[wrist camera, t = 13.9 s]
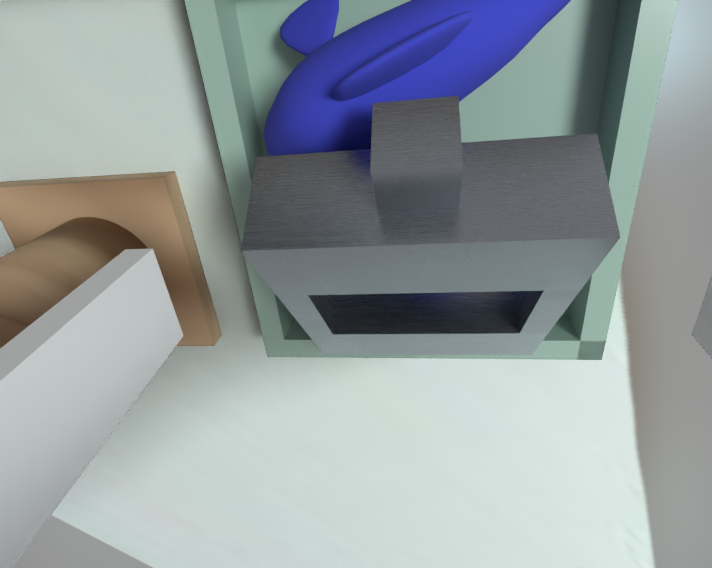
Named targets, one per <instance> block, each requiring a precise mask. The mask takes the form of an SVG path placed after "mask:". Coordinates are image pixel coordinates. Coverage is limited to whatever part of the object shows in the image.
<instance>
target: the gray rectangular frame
mask: <svg viewBox="0 0 712 568" xmlns="http://www.w3.org/2000/svg"><path fill="white" fill-rule="evenodd" d="M619 239H620V233H619V228H618V224H617V219H616V215H615V210H614V206H613V201H612V197H611V192H610V188H609V183H608V179H607V174H606V170H605V165H604V161H603V156H602V152H601V147H600V143H599V138H598V134H597V133H594V134H580V135H565V136H551V137H536V138H522V139H508V140H493V141H479V142H465V143H462V142H461V127H460V112H459V97H458V96H450V97H438V98H426V99H415V100H403V101H391V102H379V103H373V108H372V136H371V149H364V150H349V151H335V152H321V153H306V154H292V155H278V156H263V157H256V161H255V167H254V173H253V179H252V185H251V191H250V198H249V204H248V210H247V216H246V222H245V228H244V234H243V240H242V246H241V252H242V253H243V254H244V256H245V257H246V258H247V259H248V261H249V262H250V263H251V264H252V266H253V267H254V268H255V269H256V271H257V272H258V273H259V274H260V275H261V277H262V278H263V279H264V280H265V282H266V283H267V284H268V285H269V287H270V288H271V289H272V290H273V292H274V293H275V294H276V295H277V297H278V298H279V299H280V300H281V302H282V303H283V304H284V305H285V307H286V308H287V309H288V310H289V312H290V313H291V314H292V315H293V317H294V318H295V319H296V320H297V321H298V323H299V324H300V325H301V326H302V328H303V329H304V330H305V331H306V333H307V334H308V335H309V336H310V338H311V339H312V340H313V341H314V343H315V344H316V345H317V346H318V348H319V349H320V350H321V351H322V353H323V354H324V355H532V354H533V353H534V352H535V350H536V349H537V348H538V346H539V345H540V344H541V342H542V341H543V340H544V338H545V337H546V336H547V334H548V333H549V332H550V330H551V329H552V328H553V326H554V325H555V324H556V322H557V321H558V320H559V318H560V317H561V316H562V314H563V313H564V312H565V310H566V309H567V308H568V306H569V305H570V304H571V302H572V301H573V300H574V298H575V297H576V296H577V294H578V293H579V292H580V290H581V289H582V288H583V286H584V285H585V284H586V282H587V281H588V280H589V278H590V277H591V276H592V274H593V273H594V272H595V270H596V269H597V268H598V266H599V265H600V264H601V262H602V261H603V260H604V258H605V257H606V256H607V254H608V253H609V252H610V250H611V249H612V248H613V246H614V245H615V244H616V243H617V241H618V240H619Z"/></svg>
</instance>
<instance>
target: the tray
mask: <svg viewBox="0 0 712 568" xmlns="http://www.w3.org/2000/svg"><path fill="white" fill-rule="evenodd" d="M184 1H185V5H186V9H187V14H188V18H189V22H190V26H191V31H192V35H193V39H194V44H195V48H196V52H197V57H198V61H199V65H200V69H201V74H202V78H203V82H204V87H205V91H206V95H207V99H208V104H209V108H210V112H211V117H212V121H213V125H214V129H215V134H216V138H217V142H218V147H219V151H220V155H221V159H222V164H223V168H224V172H225V177H226V181H227V185H228V190H229V194H230V198H231V202H232V207H233V211H234V215H235V220H236V224H237V228H238V232H239V237H240V241H241V245H242V240H243V234H244V228H245V222H246V216H247V210H248V204H249V198H250V191H251V185H252V179H253V173H254V167H255V161H256V157H263V156H270V155H269V154H268V153H267V149H266V144H265V140H264V136H263V134H264V128H265V122H266V118H267V116H268V113H269V111H270V109H271V107H272V104H273V102H274V100H275V98H276V96H277V94H278V92H279V90H280V88H281V86H282V84H283V82H284V81H285V80H286V78H287V77H288V76H289V74H290V73H291V72H292V71H293V70H294V69H295V67H296V66H297V65H298V64H299V63H300V62H301V61H302V60H303V59H304V58H306V57H307V56H305V55H303V54H301V53H299V52H297V51H296V50H294V49H292V48H291V47H289V46H287V45H286V43H285V42H284V41H283V40H282V39H281V38H280V27H281V26H282V24H283V23H284V22H285V20H286V19H287V18H288V16H289V15H290V14H291V13H292V12H294V11H295V10H296V9H297V8H298V7H299V6H300V5H302V4H303V3H304V2H306V1H308V0H184ZM408 1H411V0H339V13H338V17H337V22H336V27H335V32H334V36H333V38H334V37H336V36H337V35H339V34H341V33H343V32H345V31H346V30H348V29H350V28H352V27H354V26H356V25H358V24H360V23H362V22H364V21H366V20H368V19H370V18H373V17H375V16H377V15H379V14H381V13H383V12H386V11H388V10H390V9H393V8H395V7H397V6H399V5H402V4H404V3H406V2H408ZM677 5H678V0H571V1H570V2H569V3H568V4H567V5H566V6H565V7H564V8H563V9H562V10H561V11H560V12H559V13H558V14H557V15H556V16H555V17H554V18H553V19H552V20H551V21H549V22H548V23H547V24H546V25H545V26H544V27H543V28H542V29H541V30H540V31H539V32H538V33H537V34H536V35H535V37H534V38H533V39H532V40H531V41H530V42H529V43H528V44H527V45H526V46H525V47H524V48H523V49H522V50H521V51H520V52H519V53H518V54H517V56H516V57H515V58H514V59H513V60H511V61H510V62H509V63H508V64H507V65H505V66H504V67H503V68H502V69H501V70H500V71H498V72H497V73H496V74H495V75H494V76H493V77H491V78H490V79H489V80H488V81H486V82H485V83H484V84H482V85H481V86H480V87H478V88H477V89H476V90H474V91H473V92H472V93H470V94H469V95H468V96H467V97H465V98H464V99H463V100H461V101H460V102H459V112H460V127H461V142H462V143H465V142H479V141H493V140H508V139H522V138H536V137H551V136H565V135H580V134H594V133H597V134H598V138H599V143H600V147H601V152H602V156H603V161H604V165H605V170H606V174H607V179H608V183H609V188H610V192H611V197H612V201H613V206H614V210H615V215H616V219H617V224H618V228H619V233H620V239H619V240H618V241H617V243H616V244H615V245H614V246H613V248H612V249H611V250H610V252H609V253H608V254H607V256H606V257H605V258H604V260H603V261H602V262H601V264H600V265H599V266H598V268H597V269H596V270H595V272H594V273H593V274H592V276H591V277H590V278H589V280H588V281H587V282H586V284H585V285H584V286H583V288H582V289H581V290H580V292H579V293H578V294H577V296H576V297H575V298H574V300H573V301H572V302H571V304H570V305H569V306H568V308H567V309H566V310H565V312H564V313H563V314H562V316H561V317H560V318H559V320H558V321H557V322H556V324H555V325H554V326H553V328H552V329H551V330H550V332H549V333H548V334H547V336H546V337H545V338H544V340H543V341H542V342H541V344H540V345H539V346H538V348H537V349H536V350H535V352H534V353H533V354H532V355H324V354H323V353H322V351H321V350H320V349H319V348H318V346H317V345H316V344H315V343H314V341H313V340H312V339H311V338H310V336H309V335H308V334H307V333H306V331H305V330H304V329H303V328H302V326H301V325H300V324H299V323H298V321H297V320H296V319H295V318H294V317H293V315H292V314H291V313H290V312H289V310H288V309H287V308H286V307H285V305H284V304H283V303H282V302H281V300H280V299H279V298H278V297H277V295H276V294H275V293H274V292H273V290H272V289H271V288H270V287H269V285H268V284H267V283H266V282H265V280H264V279H263V278H262V277H261V275H260V274H259V273H258V272H257V271H256V269H255V268H254V267H253V266H252V264H251V263H250V262H249V261H248V259H247V258H246V257H245V256H244V258H245V262H246V267H247V271H248V275H249V280H250V284H251V288H252V293H253V297H254V301H255V305H256V310H257V314H258V318H259V323H260V327H261V331H262V335H263V340H264V344H265V348H266V353H267V357H351V358H459V359H566V360H602V356H603V351H604V347H605V342H606V337H607V333H608V328H609V323H610V319H611V314H612V309H613V305H614V300H615V295H616V291H617V286H618V281H619V277H620V272H621V267H622V263H623V258H624V253H625V248H626V244H627V239H628V234H629V230H630V225H631V220H632V216H633V211H634V206H635V202H636V197H637V192H638V188H639V183H640V178H641V174H642V169H643V164H644V160H645V155H646V150H647V145H648V141H649V136H650V132H651V127H652V122H653V118H654V113H655V108H656V104H657V99H658V94H659V89H660V85H661V80H662V75H663V71H664V66H665V61H666V57H667V52H668V47H669V42H670V38H671V33H672V29H673V23H674V19H675V15H676V10H677Z"/></svg>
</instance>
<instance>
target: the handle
mask: <svg viewBox="0 0 712 568" xmlns="http://www.w3.org/2000/svg"><path fill="white" fill-rule="evenodd" d="M0 219H1V221H2V223H3V225H4V227H5V229H6V231H7V233H8V235H9V237H10V239H11V241H12V243H13V245H14V247H15V249H16V250H14V251H12V252H10V253H8V254H6V255H5V256H3V257H1V258H0V348H2V347H3V346H4V345H5V344H7V343H8V342H9V341H10V340H12V339H13V338H14V337H15V336H17V335H18V334H19V333H21V332H22V331H23V330H24V329H26V328H27V327H28V326H29V325H31V324H32V323H33V322H34V321H36V320H37V319H38V318H39V317H41V316H42V315H43V314H44V313H46V312H47V311H48V310H50V309H51V308H52V307H53V306H55V305H56V304H57V303H58V302H60V301H61V300H62V299H63V298H65V297H66V296H67V295H68V294H70V293H71V292H72V291H74V290H75V289H76V288H77V287H79V286H80V285H81V284H82V283H84V282H85V281H86V280H87V279H89V278H90V277H91V276H92V275H94V274H95V273H96V272H98V271H99V270H100V269H101V268H103V267H104V266H105V265H106V264H108V263H109V262H110V261H111V260H113V259H114V258H115V257H116V256H118V255H119V254H120V253H121V252H123V251H124V250H125V249H152V248H153V250H154V253H155V256H156V259H157V262H158V265H159V267H160V270H161V273H162V276H163V279H164V282H165V285H166V287H167V290H168V293H169V296H170V299H171V302H172V304H173V307H174V310H175V313H176V316H177V319H178V321H179V324H180V327H181V330H182V333H183V337H182V339H181V340H180V341H179V343H178V344H177V345H176V346H214V345H215V344H216V342H217V341H218V339H219V338H220V336H221V331H220V328H219V324H218V321H217V317H216V314H215V310H214V307H213V303H212V300H211V296H210V293H209V289H208V286H207V282H206V279H205V275H204V272H203V268H202V265H201V261H200V258H199V254H198V251H197V247H196V244H195V240H194V237H193V233H192V230H191V226H190V223H189V219H188V216H187V212H186V209H185V205H184V202H183V198H182V195H181V191H180V188H179V184H178V181H177V177H176V174H175V171H174V172H158V173H141V174H124V175H108V176H91V177H75V178H58V179H41V180H25V181H8V182H1V183H0Z"/></svg>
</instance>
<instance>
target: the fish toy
mask: <svg viewBox="0 0 712 568" xmlns="http://www.w3.org/2000/svg"><path fill="white" fill-rule="evenodd" d="M570 1H571V0H411V1H408V2H406V3H404V4H402V5H399V6H397V7H395V8H393V9H390V10H388V11H386V12H383V13H381V14H379V15H377V16H375V17H373V18H370V19H368V20H366V21H364V22H362V23H360V24H358V25H356V26H354V27H352V28H350V29H348V30H346V31H345V32H343V33H341V34H339V35H337V36H336V37H334V38H333V36H334V32H335V27H336V22H337V17H338V13H339V0H308V1H306V2H304V3H303V4H302V5H300V6H299V7H298V8H297V9H296V10H295V11H294V12H292V13H291V14H290V15H289V16H288V18H287V19H286V20H285V22H284V23H283V24H282V26H281V27H280V38H281V39H282V40H283V41H284V42H285V43H286V45H287V46H289V47H291V48H292V49H294V50H296V51H297V52H299V53H301V54H303V55H305V56H307V57H306V58H304V59H303V60H302V61H301V62H300V63H299V64H298V65H297V66H296V67H295V69H294V70H293V71H292V72H291V73H290V74H289V76H288V77H287V78H286V80H285V81H284V82H283V84H282V86H281V88H280V90H279V92H278V94H277V96H276V98H275V100H274V102H273V104H272V107H271V109H270V111H269V113H268V116H267V118H266V122H265V128H264V134H263V136H264V140H265V144H266V149H267V153H268V154H269V155H270V156H278V155H292V154H306V153H321V152H335V151H349V150H364V149H371V136H372V108H373V103H379V102H391V101H403V100H415V99H426V98H438V97H450V96H458V97H459V102H460V101H461V100H463V99H464V98H465V97H467V96H468V95H469V94H470V93H472V92H473V91H474V90H476V89H477V88H478V87H480V86H481V85H482V84H484V83H485V82H486V81H488V80H489V79H490V78H491V77H493V76H494V75H495V74H496V73H497V72H498V71H500V70H501V69H502V68H503V67H504V66H505V65H507V64H508V63H509V62H510V61H511V60H513V59H514V58H515V57H516V56H517V54H518V53H519V52H520V51H521V50H522V49H523V48H524V47H525V46H526V45H527V44H528V43H529V42H530V41H531V40H532V39H533V38H534V37H535V35H536V34H537V33H538V32H539V31H540V30H541V29H542V28H543V27H544V26H545V25H546V24H547V23H548V22H549V21H551V20H552V19H553V18H554V17H555V16H556V15H557V14H558V13H559V12H560V11H561V10H562V9H563V8H564V7H565V6H566V5H567V4H568V3H569V2H570Z"/></svg>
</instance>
